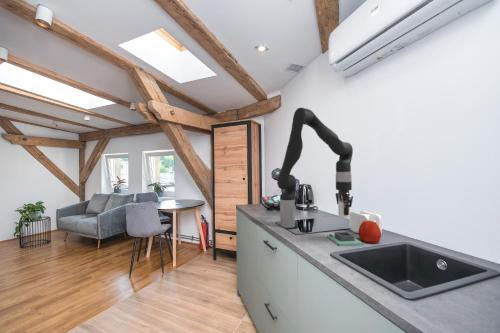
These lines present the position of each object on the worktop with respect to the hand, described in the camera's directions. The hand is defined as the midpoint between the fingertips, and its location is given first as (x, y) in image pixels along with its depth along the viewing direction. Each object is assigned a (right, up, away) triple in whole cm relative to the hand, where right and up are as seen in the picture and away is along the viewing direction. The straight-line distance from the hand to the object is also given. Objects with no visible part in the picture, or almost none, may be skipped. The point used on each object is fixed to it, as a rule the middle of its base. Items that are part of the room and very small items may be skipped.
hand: (344, 214), depth 113 cm
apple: (+13, -14, -1) cm, 19 cm away
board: (0, -14, 0) cm, 14 cm away
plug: (0, -2, 0) cm, 2 cm away
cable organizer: (+18, -14, +13) cm, 26 cm away
